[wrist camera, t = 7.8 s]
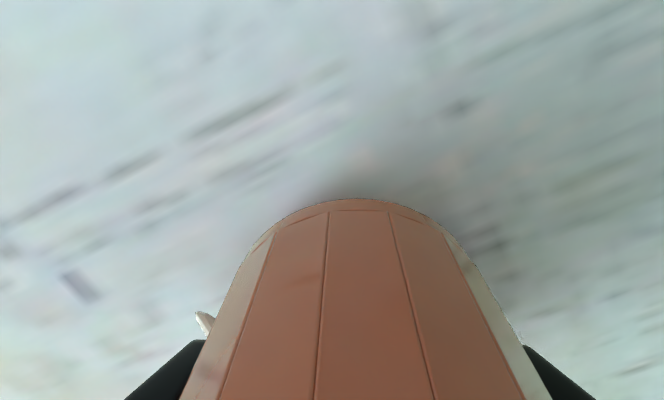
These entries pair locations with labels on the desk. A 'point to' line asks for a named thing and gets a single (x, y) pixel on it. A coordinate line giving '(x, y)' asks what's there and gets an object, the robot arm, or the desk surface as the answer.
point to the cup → (361, 316)
